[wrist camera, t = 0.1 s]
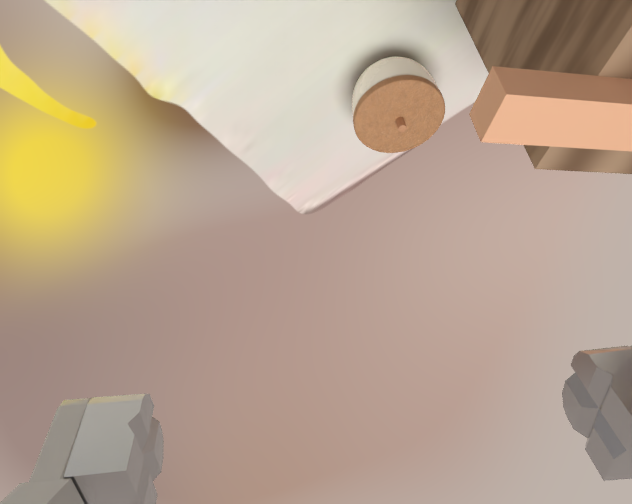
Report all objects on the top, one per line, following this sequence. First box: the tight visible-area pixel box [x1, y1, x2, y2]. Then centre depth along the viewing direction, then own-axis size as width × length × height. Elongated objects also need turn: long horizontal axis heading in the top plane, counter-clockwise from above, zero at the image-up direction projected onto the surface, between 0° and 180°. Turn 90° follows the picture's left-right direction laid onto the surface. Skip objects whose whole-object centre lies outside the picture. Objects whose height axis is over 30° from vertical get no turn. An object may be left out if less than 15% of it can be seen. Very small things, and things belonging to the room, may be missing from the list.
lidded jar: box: [352, 57, 445, 153], centre depth 64 cm, size 11×11×9 cm
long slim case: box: [469, 66, 632, 151], centre depth 38 cm, size 20×4×3 cm, turn 81°
